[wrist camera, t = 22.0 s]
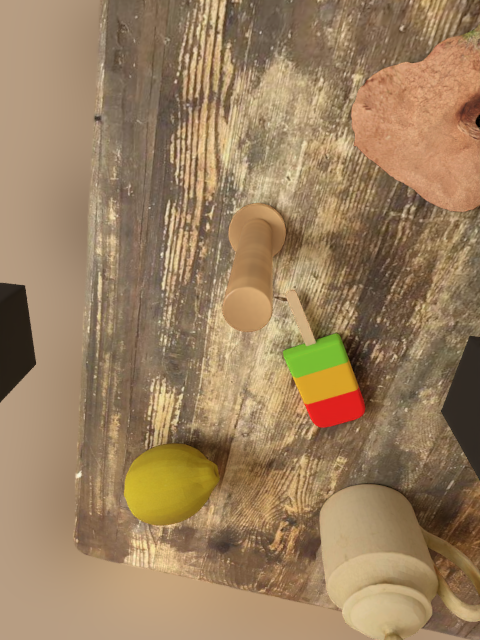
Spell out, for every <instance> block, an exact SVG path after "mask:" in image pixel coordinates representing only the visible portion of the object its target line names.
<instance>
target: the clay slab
mask: <svg viewBox="0 0 480 640" xmlns="http://www.w3.org/2000/svg"><path fill="white" fill-rule="evenodd" d="M479 114H480V24H479V25H478V27H476V28H475V29H474V30H472V31H470V32H469V33H466V34H464V35H460V36H455V37H450V38H448V39H446V40H444V41H442V42H441V43H439V44H438V45H437V46H435V48H434V49H433V51H432V52H431V53H430V54H429V55H428V56H427V57H426V58H425V59H424V60H423V61H421V62H417V63H413V64H411V63H409V62H403V63H400V64H398V65H395V66H391V67H387V68H384V69H382V70H381V71H379V72H377V73H376V74H374V75H373V76H371V77H370V78H369V79H368V80H366V82H365V84H364V85H363V86H361V87H360V89H359V91H358V93H357V96H356V100H355V103H354V104H353V105H352V113H351V118H352V129H353V130H354V132H355V142H354V146H357V147H358V149H359V150H361V151H362V152H363V153H364V154H365V156H366V157H367V158H368V159H371V160H373V161H374V162H375V163H376V164H377V165H378V166H380V167H381V168H382V169H383V170H384V171H386V172H387V173H388V174H389V175H390V176H392V177H394V179H396V180H398V181H400V182H404V184H405V185H407V186H410V187H411V188H413V189H414V190H415V191H416V192H417V193H418V194H420V195H421V197H422V198H424V199H425V200H426V201H429V202H430V203H432V204H434V205H437V206H439V207H441V208H444V209H448V210H450V211H458V212H464V211H468V210H472V209H474V208H475V207H477V206H479V205H480V131H479V128H478V127H477V126H476V123H475V121H476V118H477V117H478V115H479Z"/></svg>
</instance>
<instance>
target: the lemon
mask: <svg viewBox="0 0 480 640" xmlns="http://www.w3.org/2000/svg"><path fill="white" fill-rule="evenodd" d="M219 480H220V477H219V474H218V467H217V465H216V464H215V463H213V462H212V461H210V460H208V459H207V458H206V457H205V456H204V455H203V454H202V453H201V452H200V451H199V450H197V449H195V448H193V447H191V446H189V445H185V444H179V443H170V444H163V445H159V446H156V447H153V448H151V449H149V450H147V451H145V452H144V453H142V454H141V455H140V456H139V457H138V458H136V459H135V460H134V462H133V463H132V465H131V467H130V469H129V471H128V473H127V475H126V479H125V491H124V496H125V498H126V501H127V504H128V506H129V508H130V510H131V512H132V513H133V515H134V516H135V517H137V518H138V519H139V520H141V521H143V522H145V523H148V524H152V525H157V526H158V525H170V524H175V523H178V522H181V521H184V520H186V519H188V518H190V517H191V516H193V515H194V514H195V513H197V512H198V511H199V510H200V509H201V508H202V507H203V505H204V504H205V503H206V502H207V500H208V499H209V497H210V495H211V493H212V491H213V490H214V488H215V487H216V486H217V484H218V482H219Z"/></svg>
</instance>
